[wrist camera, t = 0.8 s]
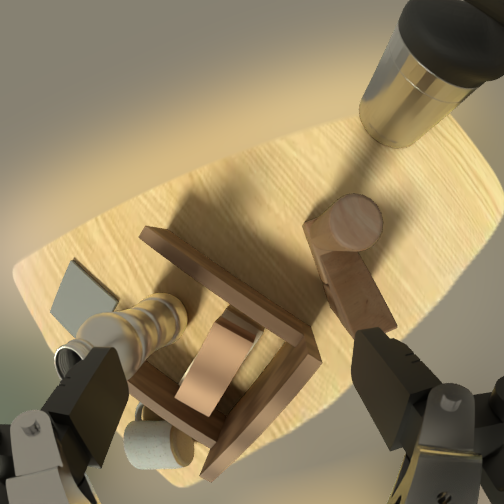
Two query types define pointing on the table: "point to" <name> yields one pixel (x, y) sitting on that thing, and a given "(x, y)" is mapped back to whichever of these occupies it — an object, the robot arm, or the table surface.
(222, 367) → the tan rectangular block
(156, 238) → the walnut rack
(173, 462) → the ceramic mug
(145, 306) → the silver bottle
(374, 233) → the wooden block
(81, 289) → the slate mat
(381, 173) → the table surface
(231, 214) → the table surface
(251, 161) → the table surface
